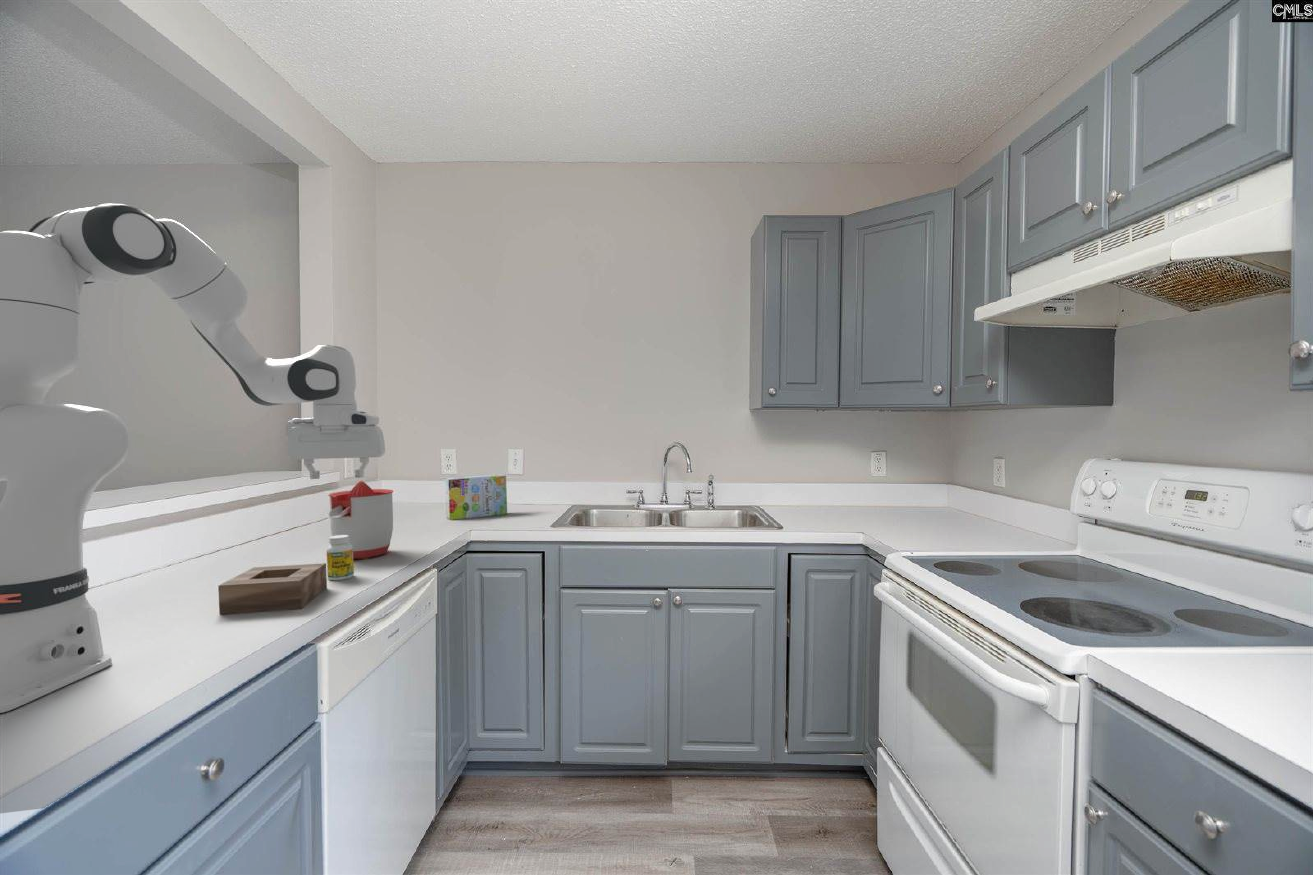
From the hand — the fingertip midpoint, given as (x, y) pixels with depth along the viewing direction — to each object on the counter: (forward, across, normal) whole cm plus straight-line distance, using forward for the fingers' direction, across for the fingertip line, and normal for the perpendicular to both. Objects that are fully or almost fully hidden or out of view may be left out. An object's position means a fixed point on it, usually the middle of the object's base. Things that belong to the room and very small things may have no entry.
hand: (337, 478), depth 136 cm
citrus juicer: (+23, -2, +23) cm, 33 cm away
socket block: (+23, -7, -16) cm, 29 cm away
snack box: (+23, +22, +82) cm, 88 cm away
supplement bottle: (+23, 0, 0) cm, 23 cm away
